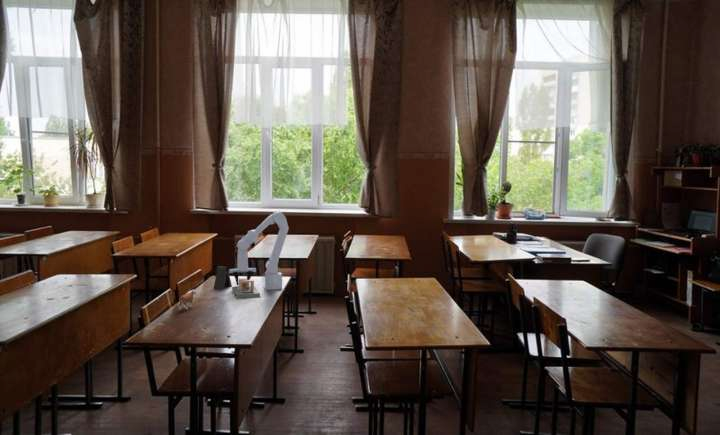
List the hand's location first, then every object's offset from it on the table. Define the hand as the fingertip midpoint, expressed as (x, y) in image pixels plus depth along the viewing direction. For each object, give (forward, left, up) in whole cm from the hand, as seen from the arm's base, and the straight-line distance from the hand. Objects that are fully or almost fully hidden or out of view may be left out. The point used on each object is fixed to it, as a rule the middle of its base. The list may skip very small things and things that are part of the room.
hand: (242, 284), depth 327 cm
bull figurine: (+32, +34, -3) cm, 47 cm away
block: (0, +5, 0) cm, 5 cm away
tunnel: (0, +12, 0) cm, 13 cm away
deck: (0, +11, -2) cm, 11 cm away
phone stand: (+10, -8, -3) cm, 13 cm away
